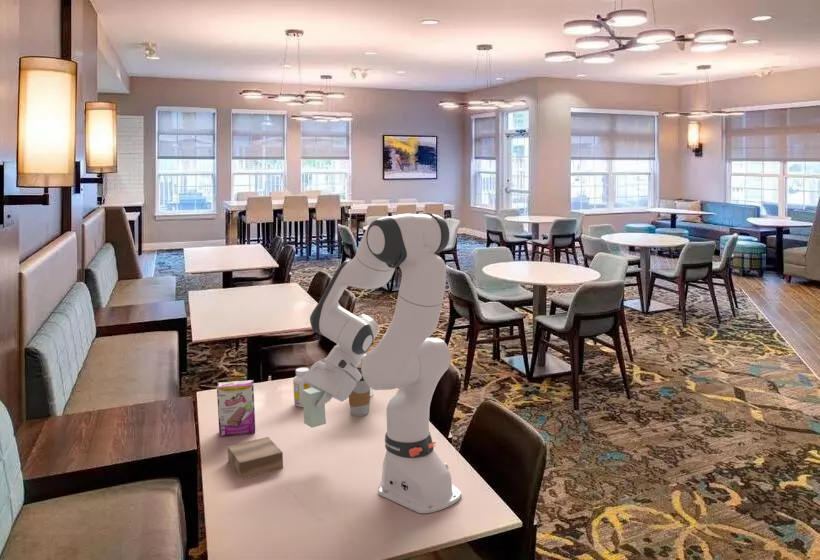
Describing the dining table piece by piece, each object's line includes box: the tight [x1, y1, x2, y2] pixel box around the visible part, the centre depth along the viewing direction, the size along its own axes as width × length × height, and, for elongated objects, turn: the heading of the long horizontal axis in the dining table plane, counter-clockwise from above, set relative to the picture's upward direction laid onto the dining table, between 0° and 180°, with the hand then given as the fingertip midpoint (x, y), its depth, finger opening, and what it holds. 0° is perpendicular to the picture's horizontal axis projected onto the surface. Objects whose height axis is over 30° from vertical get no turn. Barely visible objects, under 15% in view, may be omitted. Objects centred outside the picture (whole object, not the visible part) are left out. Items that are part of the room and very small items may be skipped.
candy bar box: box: [216, 379, 256, 437], centre depth 200 cm, size 11×5×16 cm, turn 104°
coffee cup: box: [348, 367, 371, 417], centre depth 216 cm, size 8×8×15 cm
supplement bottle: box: [292, 367, 310, 408], centre depth 224 cm, size 7×7×13 cm
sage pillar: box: [302, 387, 327, 429], centre depth 182 cm, size 4×4×10 cm
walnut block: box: [227, 436, 284, 479], centre depth 180 cm, size 12×12×5 cm
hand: (312, 404), depth 182 cm, fingers closed on sage pillar, 4 cm apart
